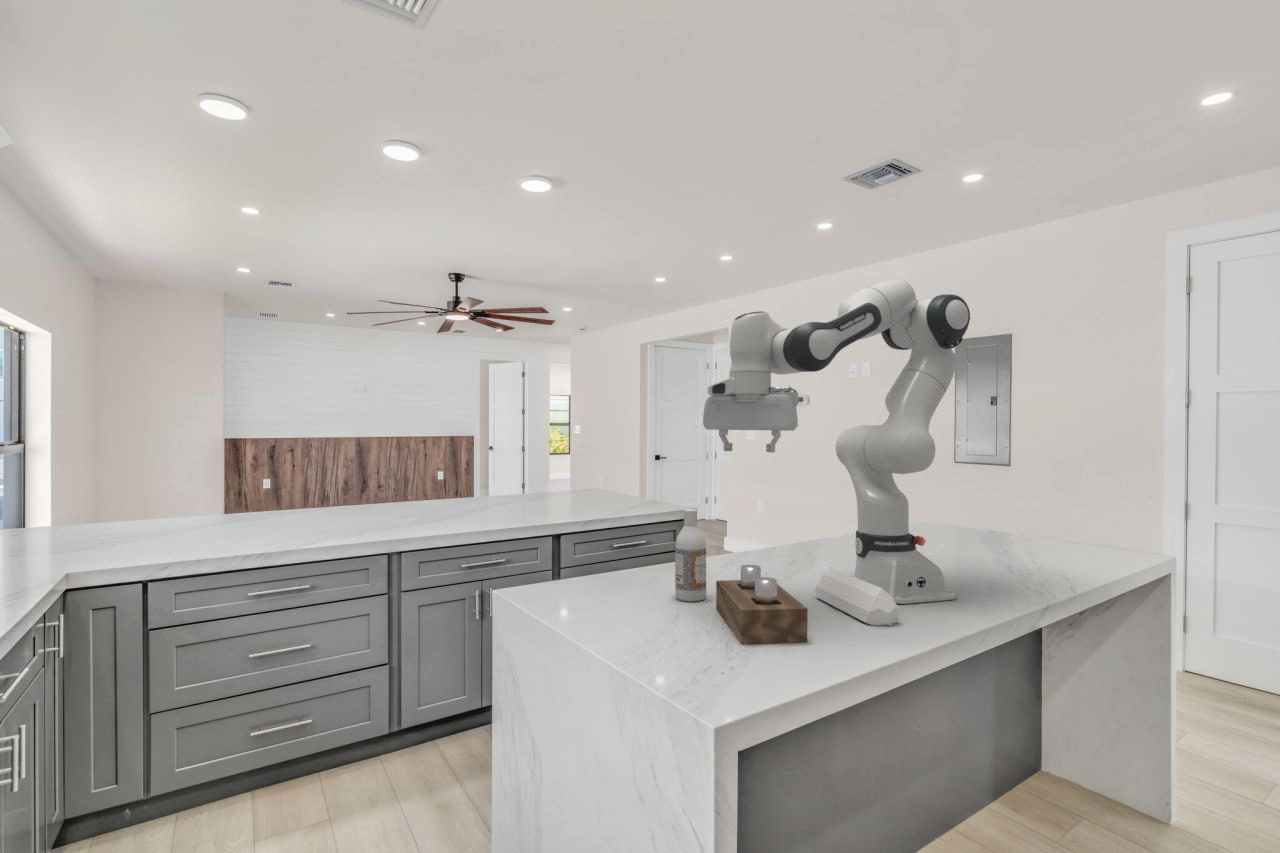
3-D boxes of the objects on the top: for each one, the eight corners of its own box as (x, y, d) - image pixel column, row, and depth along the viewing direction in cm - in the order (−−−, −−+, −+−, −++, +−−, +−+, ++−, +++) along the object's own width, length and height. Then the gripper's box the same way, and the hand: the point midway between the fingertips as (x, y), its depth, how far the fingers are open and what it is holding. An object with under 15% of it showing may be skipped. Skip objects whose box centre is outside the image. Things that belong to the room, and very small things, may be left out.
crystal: (803, 580, 144) (862, 609, 120) (827, 563, 145) (891, 588, 122) (818, 607, 144) (880, 642, 121) (842, 590, 146) (908, 621, 122)
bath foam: (692, 604, 137) (691, 512, 137) (669, 598, 142) (668, 509, 142) (712, 598, 142) (712, 509, 142) (689, 592, 147) (689, 506, 147)
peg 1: (757, 592, 131) (757, 564, 131) (763, 597, 127) (763, 568, 127) (738, 592, 131) (738, 564, 131) (743, 597, 127) (743, 569, 127)
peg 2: (773, 606, 120) (773, 576, 120) (779, 613, 116) (779, 582, 116) (752, 607, 120) (752, 577, 120) (758, 613, 116) (758, 582, 116)
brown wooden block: (771, 607, 135) (771, 579, 135) (807, 642, 113) (807, 608, 113) (716, 609, 134) (716, 580, 134) (741, 644, 112) (741, 610, 112)
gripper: (802, 387, 133) (801, 452, 133) (711, 389, 143) (710, 450, 143) (794, 385, 128) (793, 453, 128) (700, 387, 137) (699, 450, 137)
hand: (748, 451), depth 135 cm, fingers open, 8 cm apart
